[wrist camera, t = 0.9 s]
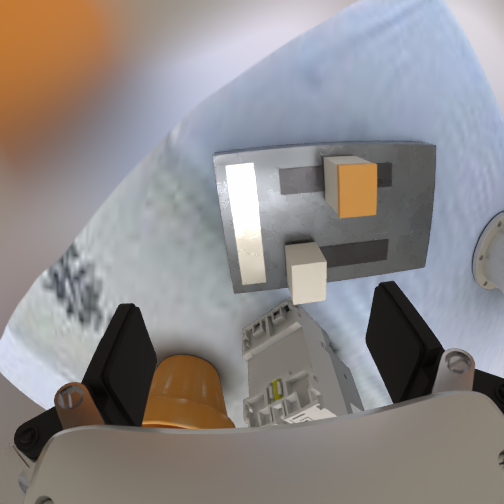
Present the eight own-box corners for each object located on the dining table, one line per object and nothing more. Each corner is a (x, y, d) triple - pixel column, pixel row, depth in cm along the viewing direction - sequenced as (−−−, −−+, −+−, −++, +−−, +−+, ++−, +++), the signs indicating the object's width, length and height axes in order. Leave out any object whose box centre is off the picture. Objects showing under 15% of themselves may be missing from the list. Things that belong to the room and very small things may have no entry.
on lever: (315, 241, 28) (326, 261, 25) (316, 277, 30) (325, 300, 26) (284, 245, 28) (291, 265, 25) (287, 281, 30) (293, 304, 26)
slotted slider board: (423, 141, 27) (436, 145, 24) (414, 257, 33) (425, 267, 30) (214, 152, 27) (212, 156, 25) (234, 281, 33) (234, 294, 31)
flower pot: (150, 398, 43) (136, 465, 31) (130, 336, 36) (101, 414, 25) (237, 403, 43) (238, 474, 32) (236, 340, 37) (236, 427, 25)
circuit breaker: (305, 380, 41) (323, 468, 28) (241, 329, 36) (244, 435, 23) (348, 355, 39) (379, 443, 26) (290, 296, 34) (316, 402, 21)
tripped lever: (355, 155, 25) (377, 164, 20) (356, 198, 26) (376, 214, 22) (322, 156, 25) (339, 165, 21) (324, 201, 26) (340, 218, 22)
